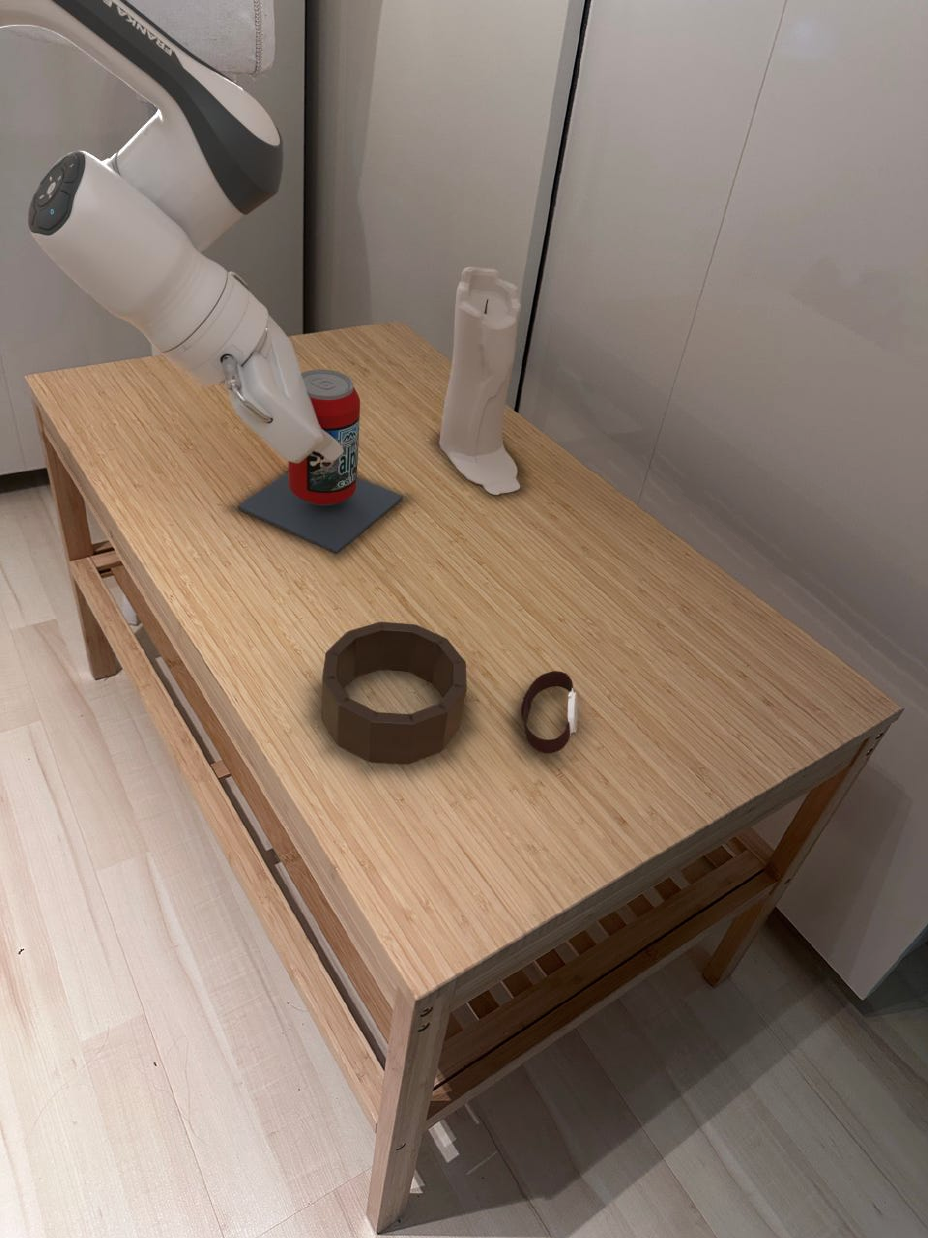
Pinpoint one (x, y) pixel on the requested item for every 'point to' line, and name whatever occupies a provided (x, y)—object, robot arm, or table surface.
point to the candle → (481, 379)
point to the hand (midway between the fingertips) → (329, 430)
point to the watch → (566, 682)
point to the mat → (321, 512)
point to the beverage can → (341, 418)
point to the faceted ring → (393, 731)
